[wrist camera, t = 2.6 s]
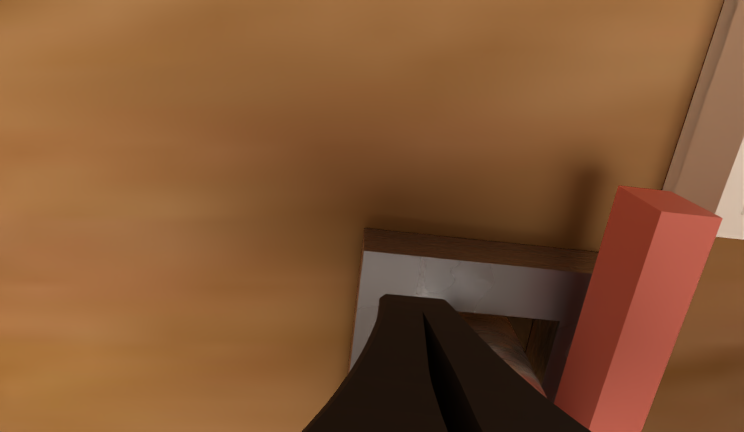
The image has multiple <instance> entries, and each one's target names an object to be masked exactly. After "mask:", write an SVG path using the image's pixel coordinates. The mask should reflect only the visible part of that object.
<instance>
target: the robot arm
mask: <svg viewBox="0 0 744 432" xmlns="http://www.w3.org/2000/svg"><path fill="white" fill-rule="evenodd" d="M302 432H591V431H590V430H589V429H587V428H586V427H584V426H583V425H581V424H580V423H579V422H577V421H576V420H575V419H573V418H572V417H571V416H569V415H568V414H567V413H565V412H564V411H563V410H562V409H560V408H559V407H558V406H556V405H555V404H554V403H552V402H551V401H550V400H548V399H547V398H546V397H545V396H544V395H542V394H541V393H540V392H539V391H537V390H536V389H535V388H534V387H533V386H532V385H530V384H529V383H528V382H527V381H526V380H525V379H524V378H523V377H521V376H520V375H519V374H518V373H517V372H516V371H515V370H514V369H512V368H511V367H510V366H509V365H508V364H507V363H506V362H505V361H504V360H503V359H502V358H501V357H500V356H499V355H498V354H497V353H496V352H495V351H494V350H493V349H492V348H491V347H490V346H489V345H488V344H487V343H486V342H485V341H484V340H483V339H482V338H481V337H480V336H479V335H478V334H477V333H476V332H475V331H474V330H473V329H472V328H471V327H470V326H469V324H468V323H467V322H466V321H465V320H464V319H463V318H462V317H461V316H460V315H459V314H458V313H457V312H456V310H455V309H454V308H453V307H452V306H451V305H450V304H449V303H448V302H447V301H446V300H445V299H437V298H426V297H416V296H405V295H395V294H385V295H383V296H382V297H380V298H379V306H378V313H377V319H376V322H375V325H374V327H373V330H372V332H371V334H370V336H369V338H368V340H367V343H366V345H365V347H364V349H363V350H362V352H361V354H360V355H359V357H358V359H357V360H356V362H355V364H354V365H353V367H352V369H351V371H350V372H349V374H348V375H347V377H346V378H345V380H344V381H343V382H342V384H341V385H340V387H339V388H338V389H337V391H336V392H335V393H334V395H333V396H332V397H331V398H330V400H329V401H328V402H327V404H326V405H325V406H324V407H323V408H322V409H321V410H320V412H319V413H318V414H317V415H316V416H315V417H314V419H313V420H312V421H311V422H310V423H309V424H308V425H307V426H306V427H305V429H304V430H303V431H302Z"/></svg>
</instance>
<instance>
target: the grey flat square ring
mask: <svg viewBox="0 0 744 432" xmlns="http://www.w3.org/2000/svg"><path fill="white" fill-rule="evenodd" d="M598 253H599V252H591V251H581V250H571V249H562V248H552V247H542V246H533V245H523V244H513V243H504V242H494V241H484V240H475V239H465V238H455V237H445V236H436V235H426V234H416V233H407V232H397V231H387V230H378V229H368V228H364V235H363V243H362V252H361V260H360V269H359V278H358V286H357V295H356V303H355V312H354V320H353V329H352V338H351V346H350V355H349V363H348V372H347V375H348V374H349V372H350V371H351V369H352V367H353V365H354V364H355V362H356V360H357V359H358V357H359V355H360V354H361V352H362V350H363V349H364V347H365V345H366V343H367V340H368V338H369V336H370V334H371V332H372V330H373V327H374V325H375V322H376V319H377V313H378V306H379V298H380V297H382V296H383V295H385V294H395V295H405V296H416V297H426V298H437V299H445V300H446V301H447V302H448V303H449V304H450V305H451V306H452V307H453V308H454V309H455V310H456V311H461V312H471V313H481V314H492V315H502V316H513V317H523V318H533V319H534V322H533V325H532V329H531V333H530V337H529V341H528V344H527V348H526V352H525V354H526V356H527V358H528V360H529V362H530V364H531V366H532V368H533V370H534V372H535V374H536V376H537V378H538V380H539V382H540V385H541V387H542V389H543V391H544V393H545V395H546V397H547V399H548V400H550V401H551V402H552V403H554V401H555V398H556V394H557V391H558V388H559V384H560V381H561V377H562V374H563V371H564V367H565V364H566V361H567V357H568V354H569V351H570V347H571V344H572V340H573V337H574V334H575V330H576V327H577V324H578V320H579V317H580V314H581V310H582V307H583V303H584V300H585V297H586V293H587V290H588V287H589V283H590V280H591V276H592V273H593V270H594V266H595V263H596V260H597V256H598Z"/></svg>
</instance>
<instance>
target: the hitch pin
mask: <svg viewBox="0 0 744 432" xmlns="http://www.w3.org/2000/svg"><path fill="white" fill-rule="evenodd" d="M456 312H457V313H458V314H459V315H460V316H461V317H462V318H463V319H464V320H465V321H466V322H467V323H468V324H469V326H470V327H471V328H472V329H473V330H474V331H475V332H476V333H477V334H478V335H479V336H480V337H481V338H482V339H483V340H484V341H485V342H486V343H487V344H488V345H489V346H490V347H491V348H492V349H493V350H494V351H495V352H496V353H497V354H498V355H499V356H500V357H501V358H502V359H503V360H504V361H505V362H506V363H507V364H508V365H509V366H510V367H511V368H512V369H514V370H515V371H516V372H517V373H518V374H519V375H520V376H521V377H523V378H524V379H525V380H526V381H527V382H528V383H529V384H530V385H532V386H533V387H534V388H535V389H536V390H537V391H539V392H540V393H541V394H542V395H544V396H545V397H546V395H545V393H544V391H543V389H542V387H541V385H540V382H539V380H538V378H537V376H536V374H535V372H534V370H533V368H532V366H531V364H530V362H529V360H528V358H527V356H526V354H525V352H524V350H523V348H522V346H521V344H520V342H519V340H518V338H517V336H516V334H515V332H514V330H513V328H512V326H511V324H510V322H509V320H508V318H507V317H506V316H502V315H492V314H481V313H471V312H461V311H456ZM546 398H547V397H546Z"/></svg>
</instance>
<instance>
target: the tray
mask: <svg viewBox="0 0 744 432" xmlns="http://www.w3.org/2000/svg"><path fill="white" fill-rule="evenodd" d="M662 190H663V191H671V192H673V193H675V194H677V195H679V196H681V197H683V198H685V199H687V200H689V201H691V202H692V203H694V204H696V205H698V206H700V207H702V208H704V209H706V210H708V211H710V212H712V213H714V214H716V215H718V216H720V217H721V218H723V219H722V221H721V224H720V227H719V229H718V232H717V235H716V237H724V238H733V239H743V240H744V0H725V1H724V4H723V7H722V10H721V13H720V16H719V19H718V22H717V26H716V29H715V32H714V35H713V38H712V41H711V44H710V47H709V50H708V53H707V56H706V59H705V62H704V65H703V68H702V71H701V74H700V77H699V80H698V83H697V86H696V89H695V92H694V95H693V98H692V101H691V104H690V107H689V110H688V113H687V116H686V120H685V123H684V126H683V129H682V132H681V135H680V138H679V141H678V144H677V147H676V150H675V153H674V156H673V159H672V162H671V165H670V168H669V171H668V174H667V177H666V180H665V183H664V186H663V189H662Z"/></svg>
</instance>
